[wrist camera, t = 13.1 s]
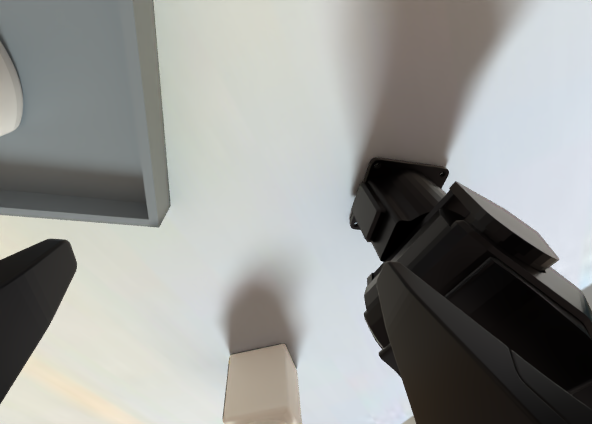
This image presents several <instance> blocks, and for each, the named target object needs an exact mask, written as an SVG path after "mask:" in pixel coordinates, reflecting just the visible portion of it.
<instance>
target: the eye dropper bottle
mask: <svg viewBox="0 0 592 424" xmlns="http://www.w3.org/2000/svg"><path fill="white" fill-rule="evenodd" d="M22 113H23V94H22V88H21V84H20V80H19V77H18V74H17V72H16V69H15V67H14V65H13V63H12V61H11V59H10V57H9V55H8V53H7V51H6V49H5V48H4V46H3V44H2V43H1V41H0V136H3V135H5V134H7V133H10V132H12V131H14V130H15V129H16V128H17V127H18V126H19V124H20V122H21V118H22Z"/></svg>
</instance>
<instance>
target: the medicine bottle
mask: <svg viewBox="0 0 592 424" xmlns="http://www.w3.org/2000/svg"><path fill="white" fill-rule="evenodd" d="M223 423H224V424H302V419H301V408H300V398H299V387H298V376H297V370H296V368H295V365H294V363H293V361H292V359H291V356H290V354H289V352H288V350H287V347H286V345H285V344H279V345H274V346H269V347H265V348H260V349H255V350H251V351H246V352H241V353H237V354H232V355H230V357H229V365H228V374H227V384H226V393H225V402H224V411H223Z"/></svg>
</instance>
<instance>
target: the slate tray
mask: <svg viewBox="0 0 592 424" xmlns="http://www.w3.org/2000/svg"><path fill="white" fill-rule="evenodd" d="M0 41H1V43H2V44H3V46H4V48H5V49H6V51H7V53H8V55H9V57H10V59H11V61H12V63H13V65H14V67H15V69H16V72H17V74H18V77H19V80H20V84H21V88H22V94H23V113H22V118H21V122H20V124H19V126H18V127H17V128H16V129H15V130H14V131H12V132H10V133H7V134H5V135H3V136H0V215H9V216H22V217H34V218H47V219H60V220H72V221H85V222H98V223H110V224H123V225H136V226H148V227H159V226H160V225H161V223H162V221H163V219H164V217H165V215H166V213H167V211H168V210H169V208H170V195H169V183H168V171H167V160H166V148H165V136H164V124H163V112H162V101H161V89H160V77H159V65H158V53H157V42H156V30H155V18H154V6H153V0H0Z"/></svg>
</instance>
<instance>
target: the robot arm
mask: <svg viewBox="0 0 592 424" xmlns="http://www.w3.org/2000/svg"><path fill="white" fill-rule="evenodd" d="M376 163H379V165H378V166H377V167H374V165H375V164H376ZM441 172H443V173H442V174H441V175H440V173H441ZM448 174H449V171H448V169H446V168H445V167H443V166H436V165H428V164H421V163H414V162H407V161H399V160H392V159H385V158H374V159H372V160H371V161H370V163H369V166H368V169H367V172H366V175H365V178H364V181H363V182H362V183H361V184H360V186H359V189H358V192H357V194H356V197H355V200H354V203H353V206H352V212H353V213H352V216H351V219H350V226H351V228H352V229H357V230H361V231H362V233H363V235H364V237H365V239H366V241H367V242H372V244H373V246H374V248H375V250H376V252H377V254H378V256H379V258H380V260H381V261H383V262H384V263H383V264H382V265H381V266H380V267H379V268H378V269H377V270H376V271H375V272H374V273H371V275H370V276H369V277H368V278H367V287H366V290H365V294H364V298H365V304H366V309H367V310H366V311H365V312H364V317H365V320H366V322H367V325H368V327H369V329H370V331H371V333H372V334H373V336H374V338H375V340H376V342H377V343H378V344H379V346H380V347H381V348H382V350H381V351H380V352H379V356H380V358H381V359H382V360H383V361H384V362H386V363H387V364H388V365H389V366H390V367H391V368H392V369H394V370H395V371H396V372H397V373H398V374H399V376H400V377H401V378H402V381H403V384H404V387H405V390H406V393H407V396H408V399H409V402H410V405H411V408H412V412H413V415H414V418H415V421H416V424H592V311H591V309H590V306H589V304H588V302H587V300H586V298H585V296H584V294H583V293H582V291H581V290H580V289H579V288H577V287H576V286H575V285H574V284H572V283H571V282H570V281H568V280H567V279H566V278H564V277H563V276H562V275H560V274H559V273H558V272H557V271H555V270H554V269H553V268H551V267H550V266H551V265H553V264H554V263H556V262H557V261H558V260H559V258H558V256H557V255H556V254H555V253H554V252H553V250H552V249H551V248H550V247H549V245H548V244H547V243H546V242H545V240H544V239H543V238H542V237H541V235H540V234H539V233H538V232H537V231H535V230H534V229H532V228H531V227H530V226H528V225H527V224H525V223H524V222H523V221H521V220H520V219H518V218H517V217H516V216H514V215H513V214H511V213H510V212H508V211H507V210H505V209H504V208H502V207H500V206H499V205H497V204H495V203H493V202H492V201H490V200H488V199H486V198H485V197H483V196H481V195H479V194H478V193H476V192H474V191H472V190H470V189H469V188H467V187H465V186H463V185H462V184H460V183H458V182H456V181H455V183H454V184H453V185H452V186H451V187H450V188H449V189H450V191H449V192H448V193H447V194H446V193H445V192H444V191H443V190H442V189H441V188H442V186H443V184H444V182H445V180H446V179H447V177H448ZM356 222H357V224H354V223H356ZM76 269H77V262H76V259H75V256H74V253H73V250H72V247H71V244H70V243H69V242H68V241H67V240H62V239H47V240H44V241H42V242H40V243H38V244H35V245H33V246H31V247H29V248H26V249H24V250H22V251H20V252H17V253H15V254H13V255H11V256H8V257H6V258H4V259H2V260H0V404H1V402H2V401H3V399H4V397H5V396H6V394H7V393H8V391H9V389H10V388H11V386H12V385H13V383H14V381H15V380H16V378H17V377H18V375H19V373H20V372H21V370H22V369H23V367H24V365H25V364H26V362H27V361H28V359H29V357H30V356H31V354H32V353H33V351H34V349H35V348H36V346H37V345H38V343H39V341H40V340H41V338H42V337H43V335H44V333H45V332H46V330H47V328H48V327H49V325H50V323H51V321H52V319H53V317H54V315H55V313H56V311H57V309H58V307H59V305H60V303H61V301H62V299H63V297H64V295H65V293H66V291H67V288H68V286H69V284H70V282H71V280H72V278H73V276H74V274H75V272H76Z"/></svg>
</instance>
